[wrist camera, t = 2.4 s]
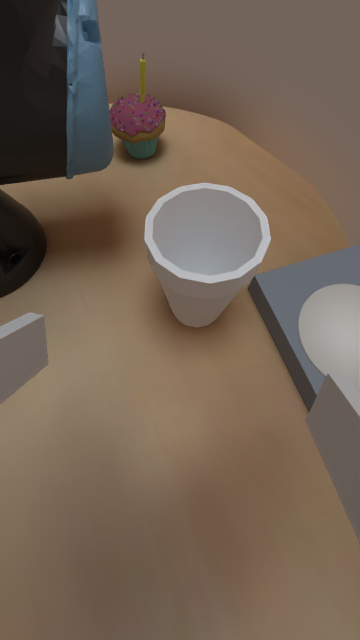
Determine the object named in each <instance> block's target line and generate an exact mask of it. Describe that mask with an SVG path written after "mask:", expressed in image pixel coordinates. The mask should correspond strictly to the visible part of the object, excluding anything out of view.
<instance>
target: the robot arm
mask: <svg viewBox="0 0 360 640" xmlns="http://www.w3.org/2000/svg"><path fill="white" fill-rule="evenodd" d="M113 153H114V148H113V138H112V129H111V120H110V112H109V103H108V96H107V87H106V79H105V70H104V62H103V54H102V47H101V37H100V29H99V21H98V13H97V3H96V0H0V185H4V184H12V183H19V182H27V181H35V180H42V179H50V178H58V177H65V176H66V178H67V179H72V178H73V176H74V175H80V174H85V173H91V172H96V171H101V170H103V169H105V168H106V167H107V166H108V165H109V164H110V162H111V160H112V158H113ZM45 250H46V236H45V233H44V230H43V228H42V227H41V225H40V224H39V223H38V221H37V220H36V218H35V217H34V216H33V214H32V213H31V212H30V211H29V210H28V209H27V208H26V207H24V206H23V205H21V204H20V203H19V202H17V201H16V200H15V199H13V198H12V197H11V196H9V195H8V194H6V193H5V192H4V191H2V190H1V189H0V297H1V296H4V295H6V294H8V293H10V292H12V291H13V290H15V289H17V288H18V287H19V286H21V285H22V284H23V283H25V282H26V281H27V280H28V279H29V278H30V277H31V276H32V275H33V274H34V273H35V271H36V270H37V269H38V267H39V265H40V264H41V262H42V260H43V257H44V254H45ZM46 365H48V354H47V342H46V330H45V318H44V315H40V314H35V313H30V312H29V313H27V314H25V315H23V316H21V317H18V318H16V319H14V320H12V321H10V322H8V323H6V324H4V325H2V326H0V404H1V403H2V402H3V401H5V400H6V399H7V398H8V397H9V396H11V395H12V394H13V393H14V392H15V391H17V390H18V389H19V388H20V387H21V386H23V385H24V384H25V383H26V382H27V381H28V380H30V379H31V378H32V377H33V376H34V375H36V374H37V373H38V372H39V371H40V370H42V369H43V368H44V367H45V366H46ZM306 422H307V424H308V427H309V429H310V431H311V433H312V436H313V438H314V440H315V443H316V445H317V447H318V449H319V452H320V454H321V456H322V459H323V461H324V463H325V465H326V468H327V470H328V472H329V475H330V477H331V479H332V481H333V484H334V486H335V488H336V491H337V493H338V495H339V497H340V500H341V502H342V504H343V507H344V509H345V511H346V513H347V516H348V518H349V520H350V523H351V525H352V527H353V529H354V532H355V534H356V536H357V539H358V541H359V543H360V392H359V391H358V390H357V389H356V388H355V386H354V385H353V384H352V383H351V382H350V380H349V379H348V378H347V377H346V376H342V375H337V374H332V373H328V374H327V376H326V378H325V380H324V382H323V384H322V386H321V389H320V391H319V393H318V395H317V397H316V399H315V401H314V404H313V406H312V408H311V410H310V412H309V414H308V416H307V418H306Z"/></svg>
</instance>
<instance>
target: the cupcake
mask: <svg viewBox="0 0 360 640" xmlns="http://www.w3.org/2000/svg"><path fill="white" fill-rule="evenodd" d="M109 112H110V120H111V129H112V133H113V134H114V135H115V136H116V137H118V138H119V139H122V141H123V143H124V144H125V146H126V148H127V150H128V152H129V154H130V155H131V156H133V157H135V158H140V159H142V158H148V157H150V156H152V155H153V154H154V153H155V151H156V147H157V141H158V137H159V135H160V134H161V133H162V132H163V131H164V128H165V117H166V111H165V110H164V109H163V107H161V105H160V104H159V103H158V101H156V100H154V98H152V97H150V96H149V95H145V60H144V51H143V57H142V59H141V60H140V93H137V94H132V95H126V96H125V97H123V96H122V97H121V98H120V99H118V100H117V101H116V102H115V103H114V105H112V107H111V110H110V111H109Z"/></svg>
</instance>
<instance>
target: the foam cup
mask: <svg viewBox="0 0 360 640" xmlns="http://www.w3.org/2000/svg"><path fill="white" fill-rule="evenodd" d="M144 241H145V246H146V251H147V256H148V260H149V262H150V264H151V266H152V267H153V269H154V271H155V273H156V275H157V277H158V279H159V281H160V283H161V286H162V288H163V290H164V293H165V295H166V298H167V300H168V303H169V305H170V308H171V310H172V312H173V313H174V315H175V317H176V319H177V320H179V321H180V322H181V323H183V324H184V325H186V326H191V327H195V328H198V327H203V326H208V325H209V324H211V323H212V322H213V321H215V320H216V319H217V318H218V317H219V316H220V314H221V313H222V312H223V311H224V310H225V308H226V307H227V306H228V305H229V303H230V302H231V301H232V300H233V298H234V297H235V296H236V295H237V294H238V292H239V291H240V290H241V289H242V287H243V286H244V285H245V284H247V283H248V282H249V281H250V280H252V279H253V277H254V275H255V273H256V271H257V269H258V268H259V266H260V264H261V262H262V260H263V257H264V255H265V252H266V250H267V248H268V245H269V243H270V241H271V237H270V231H269V225H268V220H267V216H266V215H265V214H264V213H263V212H262V210H261V209H260V208H259V207H258V205H257V204H256V203H255V202H254V200H253V199H252V198H250V197H248V196H246V195H244V194H243V193H241V192H239V191H237V190H235V189H233V188H231V187H229V186H222V185H216V184H210V183H199V184H193V185H187V186H181V187H178V188H176V189H175V190H173V191H171V192H169V193H168V194H166V195H164V196H163V197H161V198H159V199H158V200H157V202H156V203H155V205H154V206H153V208H152V209H151V210H150V212H149V213H148V215H147V216H146V220H145V236H144Z"/></svg>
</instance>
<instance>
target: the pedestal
mask: <svg viewBox="0 0 360 640" xmlns="http://www.w3.org/2000/svg"><path fill="white" fill-rule="evenodd" d="M248 290H249V292H250V294H251V296H252V298H253V300H254V302H255V304H256V306H257V308H258V310H259V312H260V314H261V316H262V318H263V320H264V322H265V324H266V326H267V328H268V330H269V332H270V334H271V336H272V338H273V340H274V342H275V344H276V346H277V348H278V350H279V352H280V354H281V356H282V358H283V360H284V362H285V364H286V366H287V368H288V370H289V372H290V374H291V376H292V378H293V380H294V382H295V384H296V386H297V388H298V391H299V393H300V395H301V397H302V399H303V401H304V403H305V405H306V407H307V409H308V411H309V412H310V410H311V408H312V406H313V404H314V401H315V399H316V397H317V395H318V393H319V391H320V389H321V386H322V384H323V382H324V380H325V378H326V376H327V374H328V373H332V374H337V375H342V376H346V377H347V378H348V379H349V380H350V382H351V383H352V384H353V385H354V386H355V388H356V389H357V390H358V391H359V392H360V246H359V245H356V246H352V247H349V248H345V249H342V250H339V251H335V252H332V253H329V254H325V255H322V256H318V257H315V258H312V259H308V260H305V261H302V262H298V263H295V264H291V265H288V266H285V267H281V268H278V269H275V270H271V271H268V272H264V273H261V274H258V275H254V277H253V279H252V281H251V283H250V285H249V287H248Z"/></svg>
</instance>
